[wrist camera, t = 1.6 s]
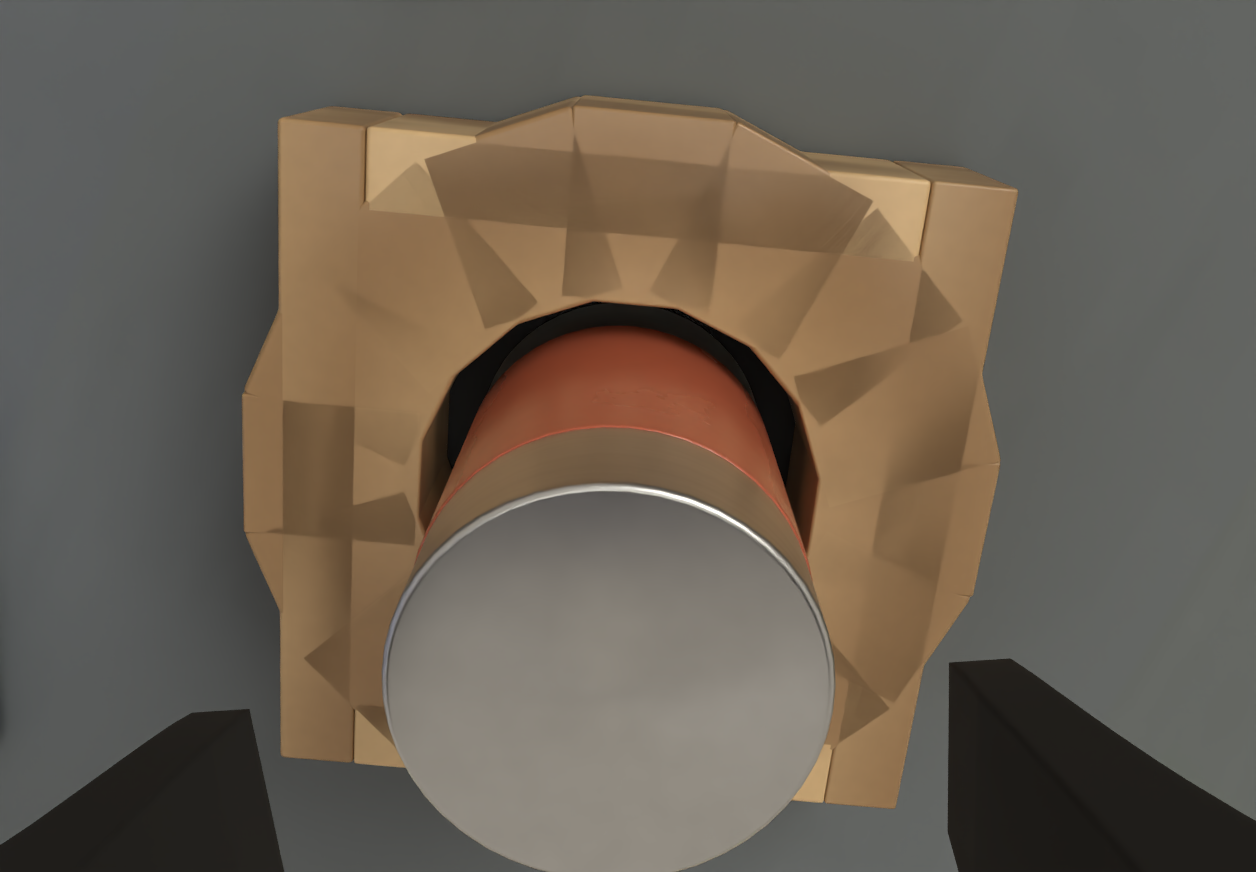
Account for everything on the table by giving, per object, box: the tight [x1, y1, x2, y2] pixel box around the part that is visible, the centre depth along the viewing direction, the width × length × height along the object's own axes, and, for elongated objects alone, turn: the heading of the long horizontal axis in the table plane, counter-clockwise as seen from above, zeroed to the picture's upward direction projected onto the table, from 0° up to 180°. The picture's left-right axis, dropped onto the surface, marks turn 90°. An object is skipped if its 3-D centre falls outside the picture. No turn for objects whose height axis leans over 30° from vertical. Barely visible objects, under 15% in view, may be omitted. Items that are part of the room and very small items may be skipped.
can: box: [382, 303, 836, 872], centre depth 18 cm, size 5×5×9 cm
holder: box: [242, 95, 1018, 809], centre depth 20 cm, size 12×12×3 cm
